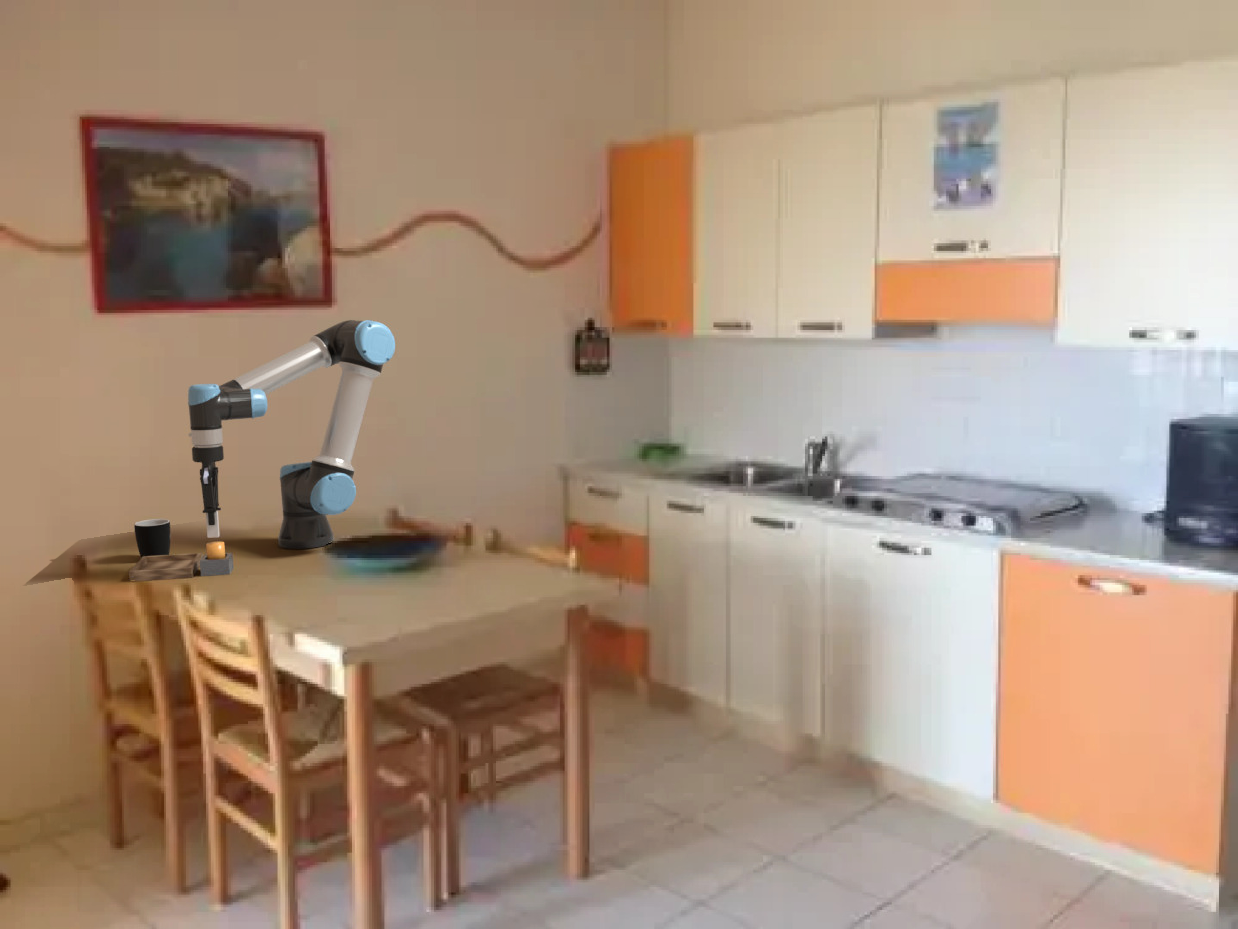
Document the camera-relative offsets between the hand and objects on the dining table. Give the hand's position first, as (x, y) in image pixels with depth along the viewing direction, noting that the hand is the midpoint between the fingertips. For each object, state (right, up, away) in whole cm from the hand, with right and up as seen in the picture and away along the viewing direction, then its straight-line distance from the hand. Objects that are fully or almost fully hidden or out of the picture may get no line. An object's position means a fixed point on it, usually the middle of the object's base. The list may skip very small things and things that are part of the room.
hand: (213, 536), depth 309 cm
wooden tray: (-13, -9, +3) cm, 16 cm away
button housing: (+1, -9, +2) cm, 9 cm away
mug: (-23, -7, +19) cm, 30 cm away
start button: (0, -7, +1) cm, 7 cm away
